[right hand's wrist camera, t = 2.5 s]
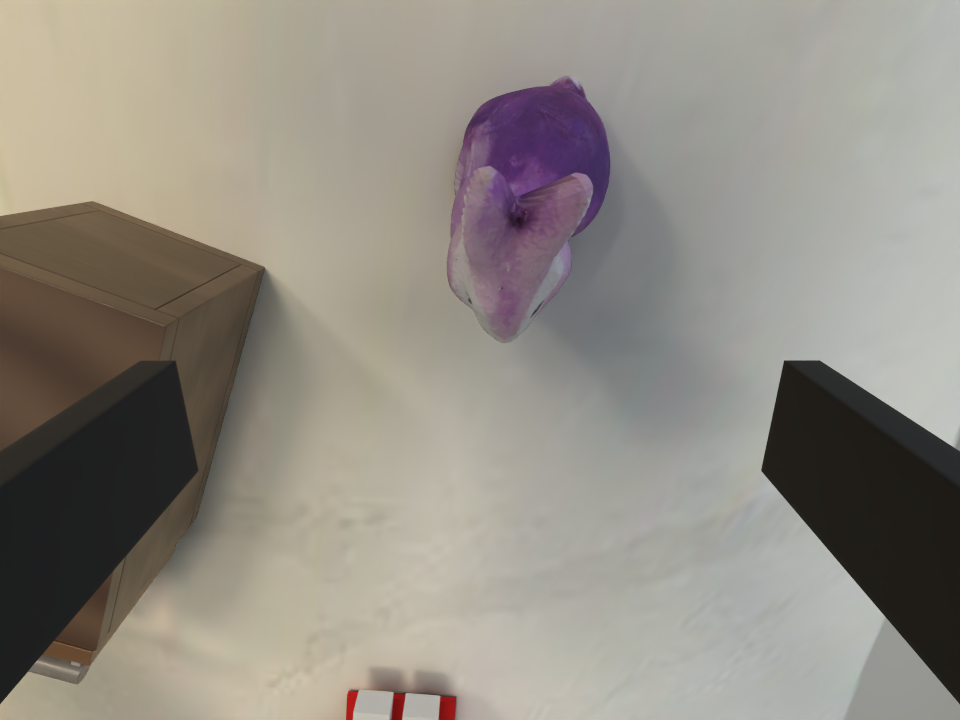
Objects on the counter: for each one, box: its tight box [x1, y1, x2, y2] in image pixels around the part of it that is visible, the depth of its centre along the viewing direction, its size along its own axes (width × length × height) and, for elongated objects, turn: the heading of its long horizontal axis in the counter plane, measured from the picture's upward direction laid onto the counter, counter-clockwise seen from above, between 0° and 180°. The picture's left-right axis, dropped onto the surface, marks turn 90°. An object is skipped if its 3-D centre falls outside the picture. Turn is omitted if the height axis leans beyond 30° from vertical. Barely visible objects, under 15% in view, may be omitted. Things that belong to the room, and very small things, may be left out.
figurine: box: [447, 76, 610, 343], centre depth 26 cm, size 9×10×15 cm
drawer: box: [29, 545, 176, 684], centre depth 34 cm, size 24×9×10 cm, turn 158°
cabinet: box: [0, 201, 264, 651], centre depth 32 cm, size 20×10×12 cm, turn 158°
